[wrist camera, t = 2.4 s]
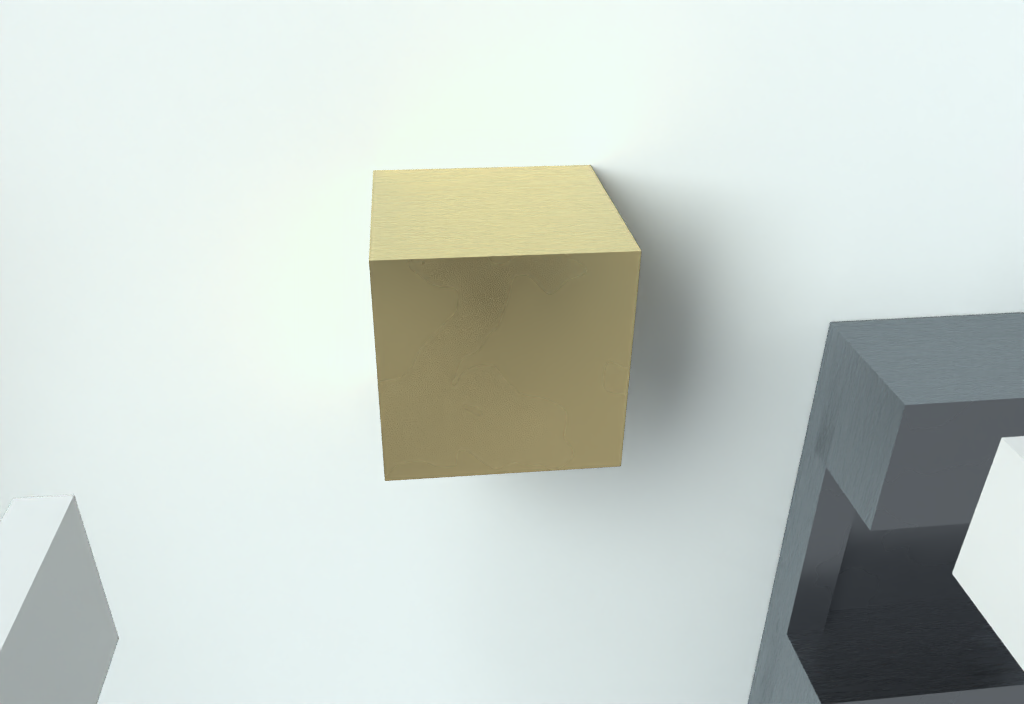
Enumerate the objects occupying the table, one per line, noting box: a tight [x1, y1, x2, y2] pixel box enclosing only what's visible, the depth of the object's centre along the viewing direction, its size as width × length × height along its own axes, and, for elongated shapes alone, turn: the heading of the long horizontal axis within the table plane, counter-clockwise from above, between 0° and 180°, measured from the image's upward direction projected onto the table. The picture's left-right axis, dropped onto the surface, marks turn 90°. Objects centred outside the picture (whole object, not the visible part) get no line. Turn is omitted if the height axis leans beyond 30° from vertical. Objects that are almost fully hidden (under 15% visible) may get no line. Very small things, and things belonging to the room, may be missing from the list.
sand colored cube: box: [369, 165, 641, 481], centre depth 20 cm, size 5×5×5 cm
